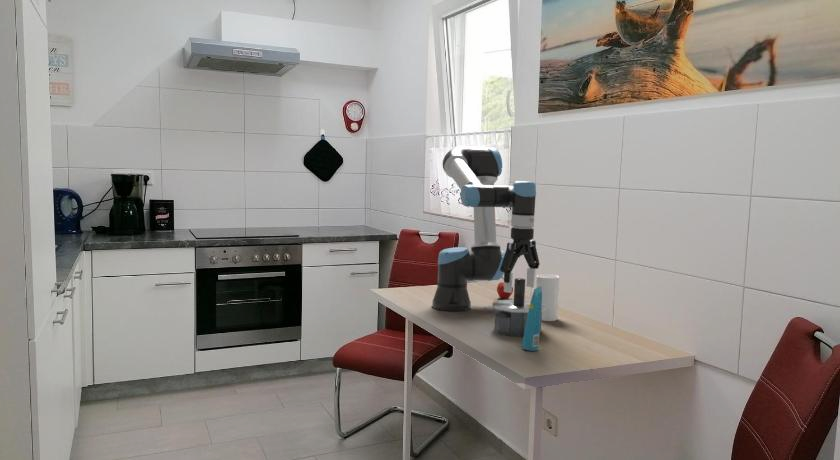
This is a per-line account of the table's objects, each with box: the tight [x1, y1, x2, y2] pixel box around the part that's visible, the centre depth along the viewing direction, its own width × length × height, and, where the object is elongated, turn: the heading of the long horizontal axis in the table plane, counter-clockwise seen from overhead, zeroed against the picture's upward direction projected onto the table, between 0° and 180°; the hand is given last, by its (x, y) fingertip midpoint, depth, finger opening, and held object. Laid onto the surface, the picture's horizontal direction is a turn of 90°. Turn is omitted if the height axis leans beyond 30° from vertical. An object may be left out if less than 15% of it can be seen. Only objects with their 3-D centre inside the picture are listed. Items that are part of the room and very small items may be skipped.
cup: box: [535, 273, 560, 322], centre depth 229 cm, size 8×8×16 cm
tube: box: [521, 286, 542, 352], centre depth 188 cm, size 7×5×19 cm, turn 158°
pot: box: [493, 309, 543, 338], centre depth 211 cm, size 21×16×8 cm
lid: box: [491, 277, 546, 314], centre depth 210 cm, size 18×18×10 cm
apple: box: [496, 276, 514, 300], centre depth 263 cm, size 8×7×10 cm
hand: (519, 289), depth 210 cm, fingers open, 13 cm apart
